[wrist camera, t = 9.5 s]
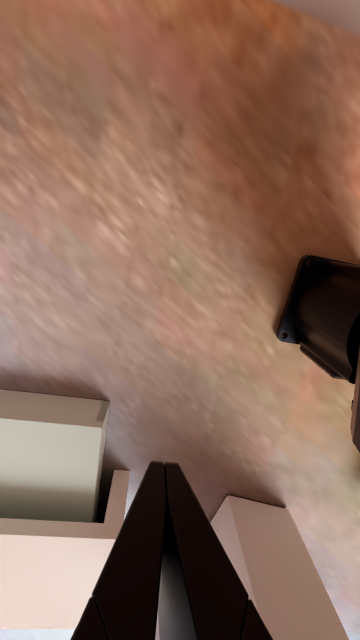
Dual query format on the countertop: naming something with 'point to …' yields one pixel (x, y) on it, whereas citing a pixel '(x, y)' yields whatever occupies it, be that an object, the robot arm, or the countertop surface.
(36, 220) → the countertop surface
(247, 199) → the countertop surface
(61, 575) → the overhang
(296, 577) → the milk carton
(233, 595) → the robot arm
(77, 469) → the cream rectangular slab
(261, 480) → the countertop surface
